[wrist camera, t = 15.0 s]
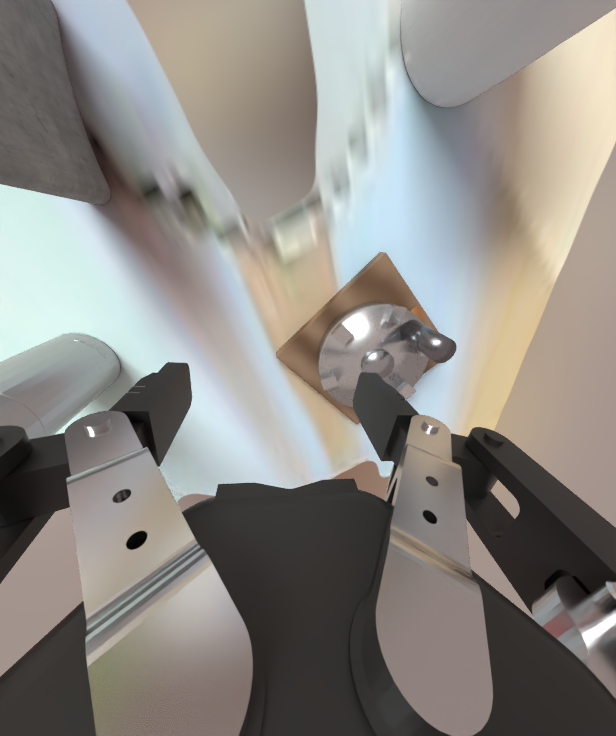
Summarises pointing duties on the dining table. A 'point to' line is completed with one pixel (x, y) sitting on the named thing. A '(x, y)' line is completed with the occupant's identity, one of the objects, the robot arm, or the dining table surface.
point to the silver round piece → (378, 349)
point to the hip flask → (42, 109)
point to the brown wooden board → (366, 286)
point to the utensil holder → (484, 41)
